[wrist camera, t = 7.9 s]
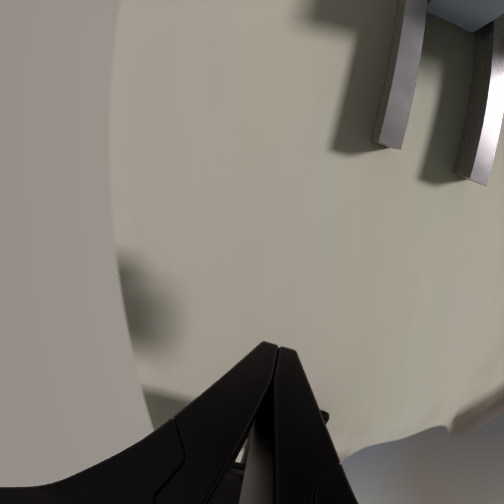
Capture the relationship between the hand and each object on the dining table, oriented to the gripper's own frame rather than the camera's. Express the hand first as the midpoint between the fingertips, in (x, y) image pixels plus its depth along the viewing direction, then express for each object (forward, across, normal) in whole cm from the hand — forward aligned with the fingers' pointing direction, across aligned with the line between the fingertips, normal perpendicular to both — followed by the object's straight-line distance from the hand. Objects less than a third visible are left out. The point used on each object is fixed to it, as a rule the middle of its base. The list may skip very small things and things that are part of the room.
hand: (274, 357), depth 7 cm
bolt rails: (+12, -6, -12) cm, 18 cm away
